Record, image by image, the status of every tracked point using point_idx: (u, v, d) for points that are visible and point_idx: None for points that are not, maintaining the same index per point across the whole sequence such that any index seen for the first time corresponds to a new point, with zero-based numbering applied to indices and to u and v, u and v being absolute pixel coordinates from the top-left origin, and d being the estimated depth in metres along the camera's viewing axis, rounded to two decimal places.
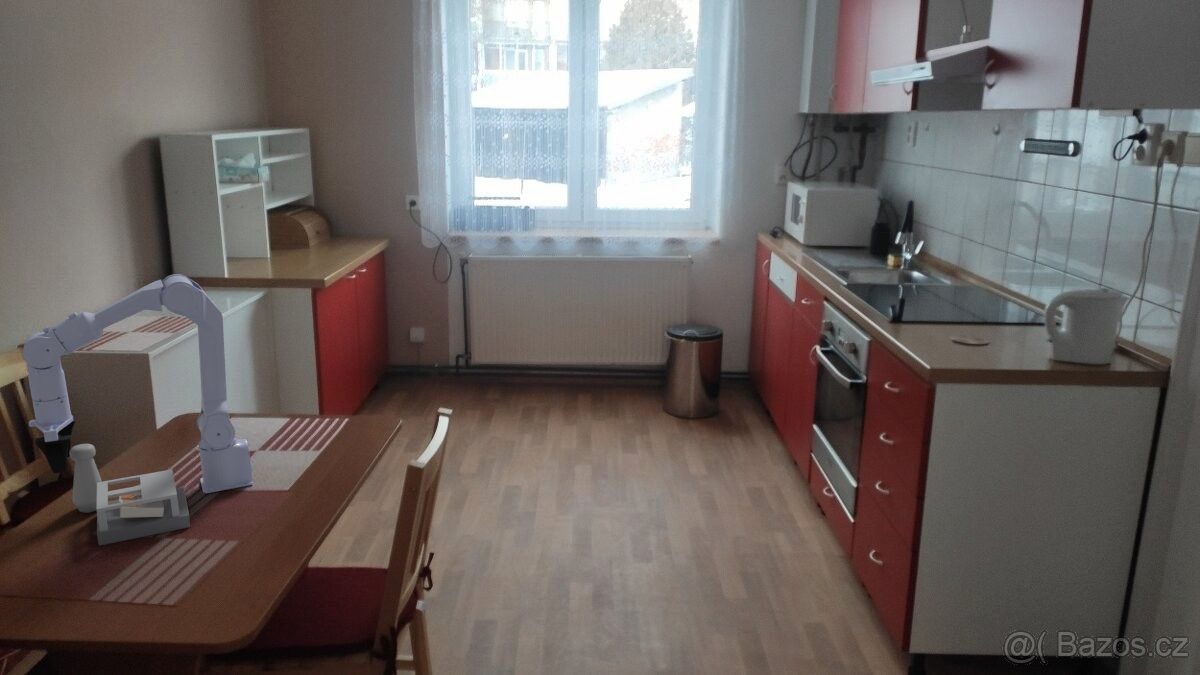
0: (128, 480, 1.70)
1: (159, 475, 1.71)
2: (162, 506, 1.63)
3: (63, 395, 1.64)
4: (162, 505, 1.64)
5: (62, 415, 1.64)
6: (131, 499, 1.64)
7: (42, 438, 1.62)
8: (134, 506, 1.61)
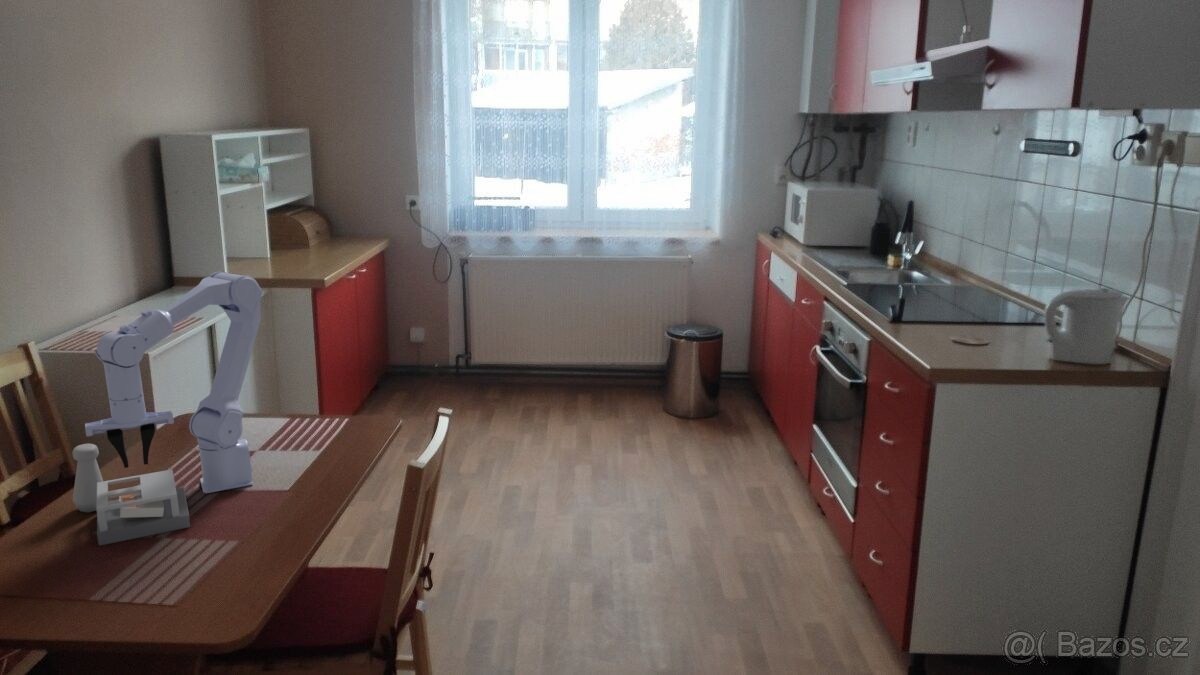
0: (128, 480, 1.70)
1: (159, 475, 1.71)
2: (162, 506, 1.63)
3: (142, 392, 1.65)
4: (162, 505, 1.64)
5: (114, 417, 1.62)
6: (131, 499, 1.64)
7: None
8: (134, 506, 1.61)
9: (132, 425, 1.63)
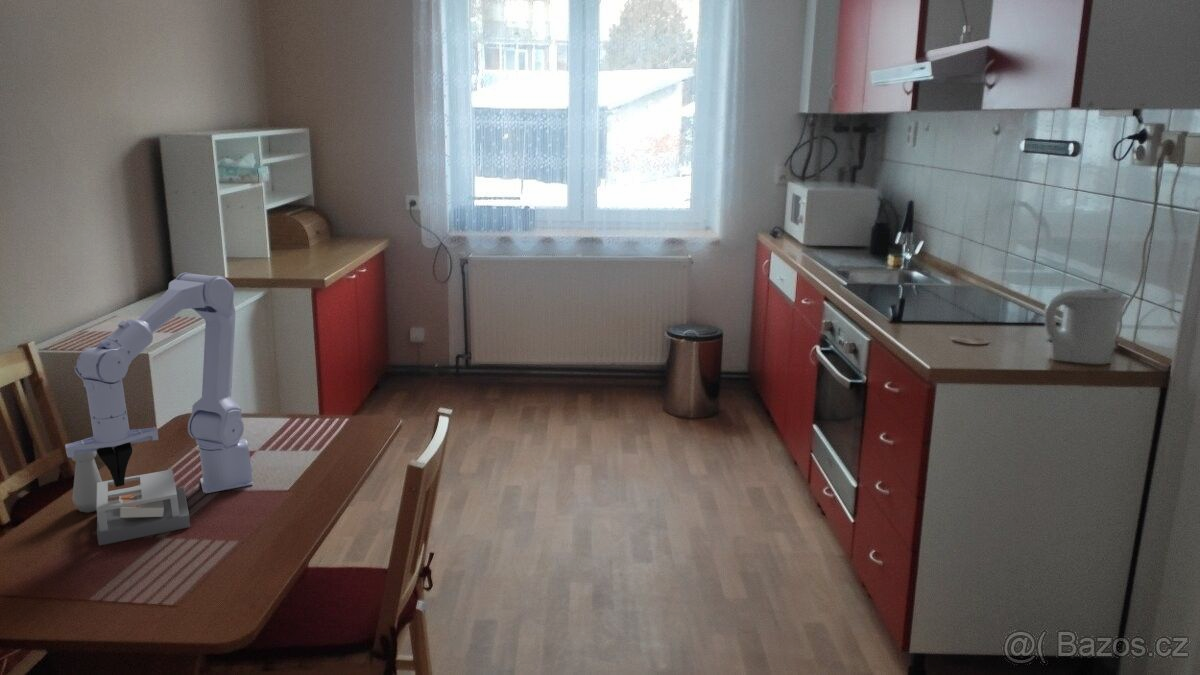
0: (128, 480, 1.70)
1: (159, 475, 1.71)
2: (162, 506, 1.63)
3: None
4: (162, 505, 1.64)
5: (98, 436, 1.55)
6: (131, 499, 1.64)
7: None
8: (134, 506, 1.61)
9: (117, 443, 1.56)
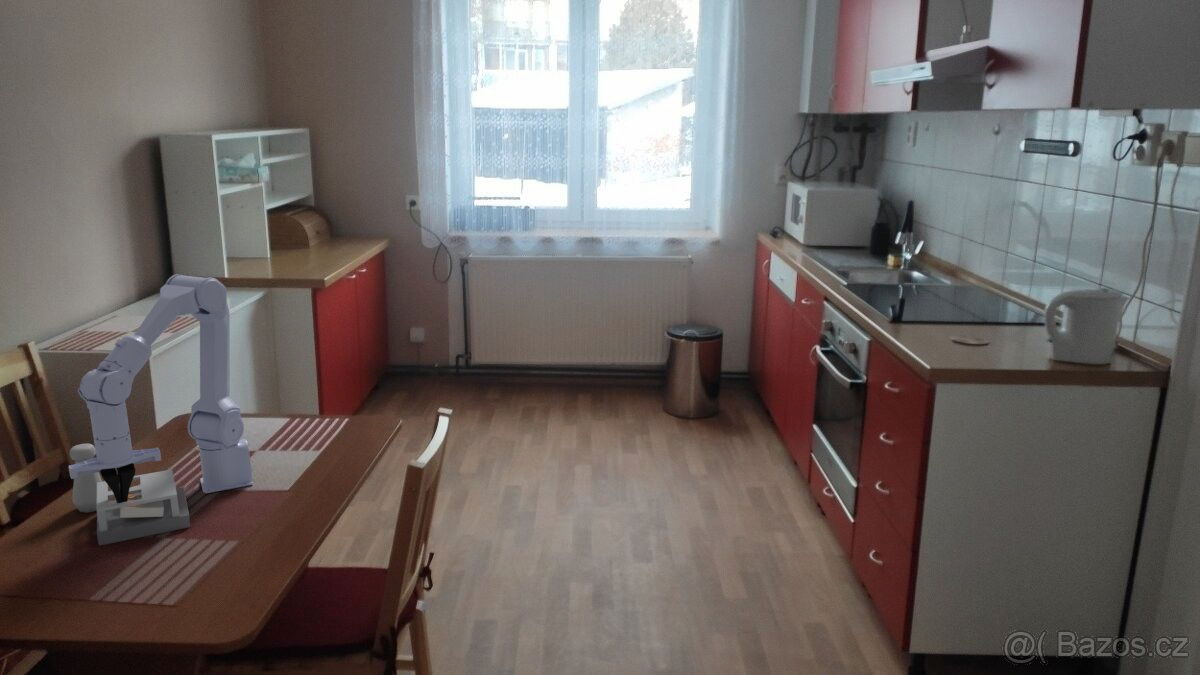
0: None
1: (159, 475, 1.71)
2: (162, 506, 1.63)
3: None
4: (162, 505, 1.64)
5: (101, 458, 1.56)
6: (131, 499, 1.64)
7: None
8: (134, 506, 1.61)
9: (120, 464, 1.57)
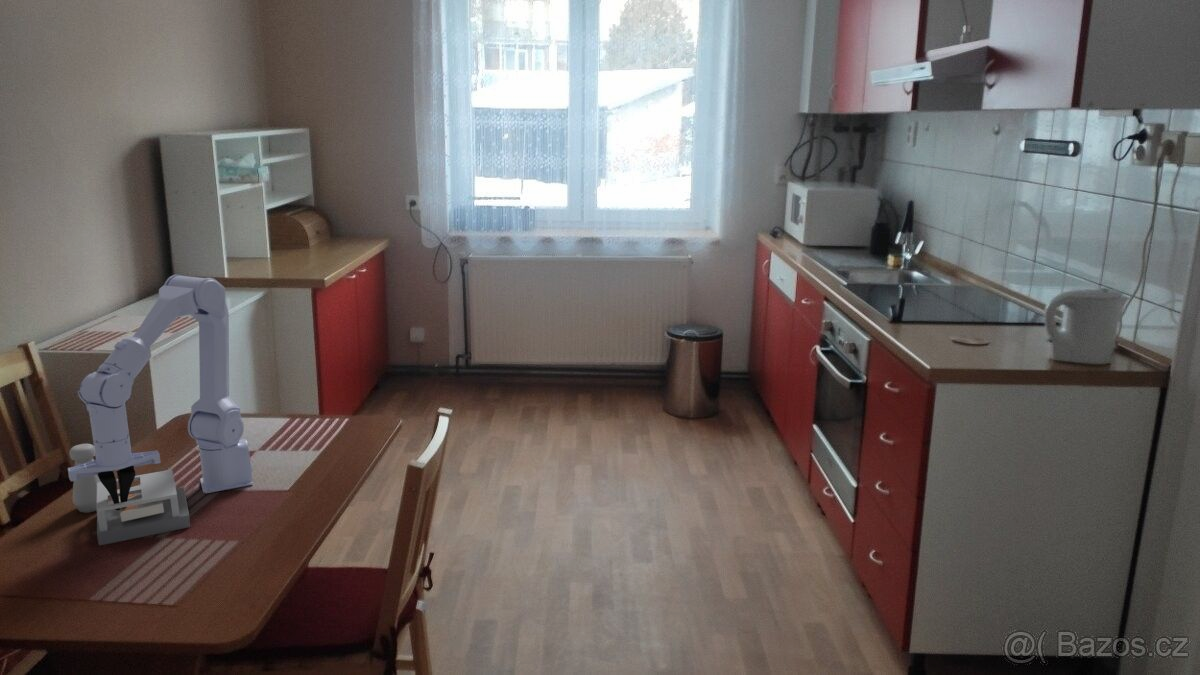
0: None
1: (159, 475, 1.71)
2: (161, 502, 1.63)
3: (128, 433, 1.60)
4: (161, 501, 1.63)
5: (100, 460, 1.57)
6: None
7: None
8: (133, 508, 1.61)
9: (120, 467, 1.57)
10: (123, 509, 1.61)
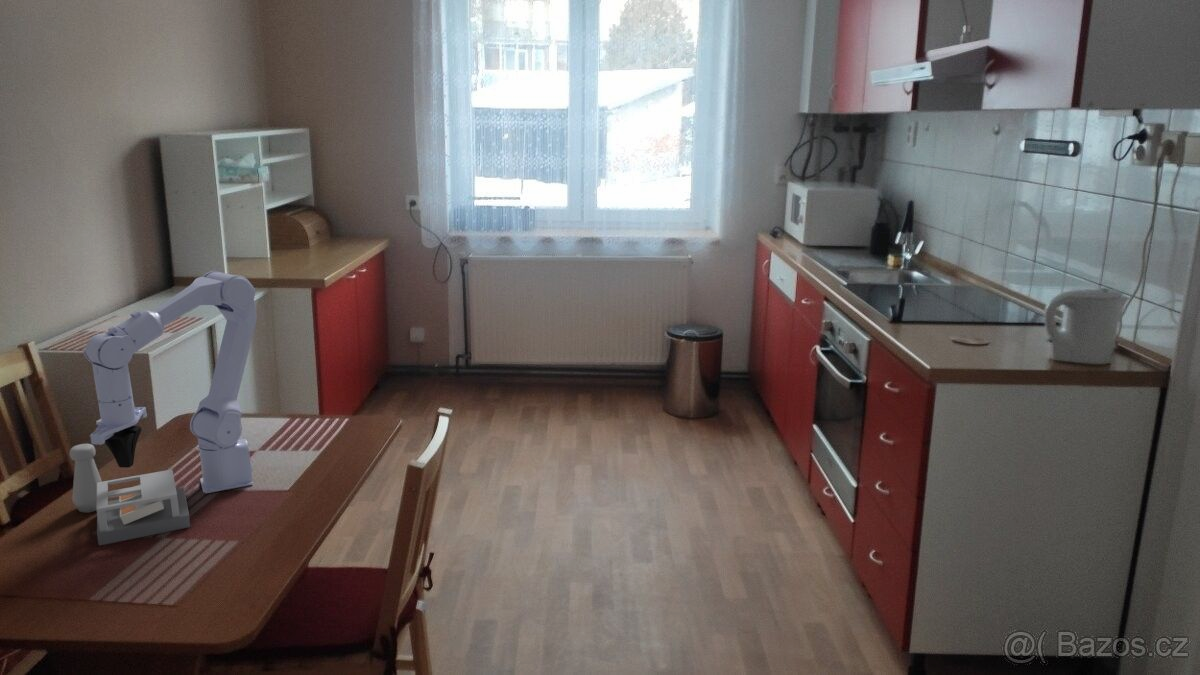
0: (128, 480, 1.70)
1: (159, 475, 1.71)
2: None
3: (131, 394, 1.64)
4: None
5: (119, 419, 1.62)
6: None
7: None
8: (132, 510, 1.61)
9: (136, 422, 1.65)
10: (123, 512, 1.61)
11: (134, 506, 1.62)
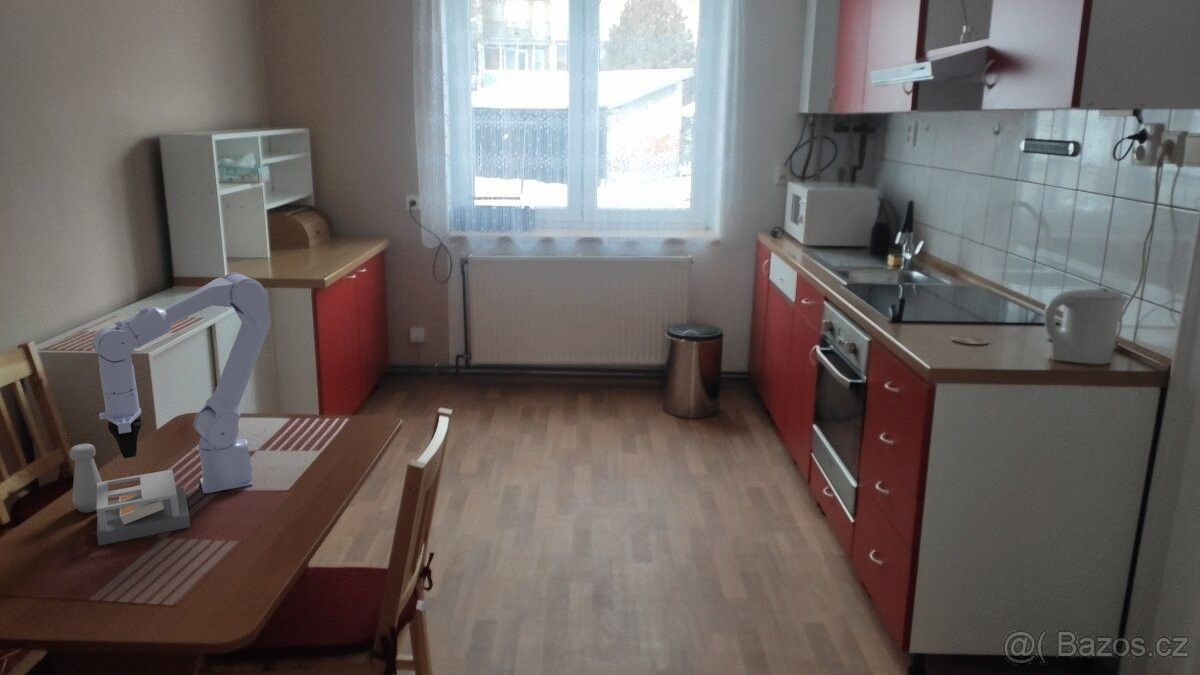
0: (128, 480, 1.70)
1: (159, 475, 1.71)
2: None
3: (134, 387, 1.67)
4: None
5: (132, 408, 1.67)
6: None
7: (114, 424, 1.68)
8: (132, 509, 1.61)
9: (140, 410, 1.70)
10: (123, 512, 1.61)
11: (134, 506, 1.62)
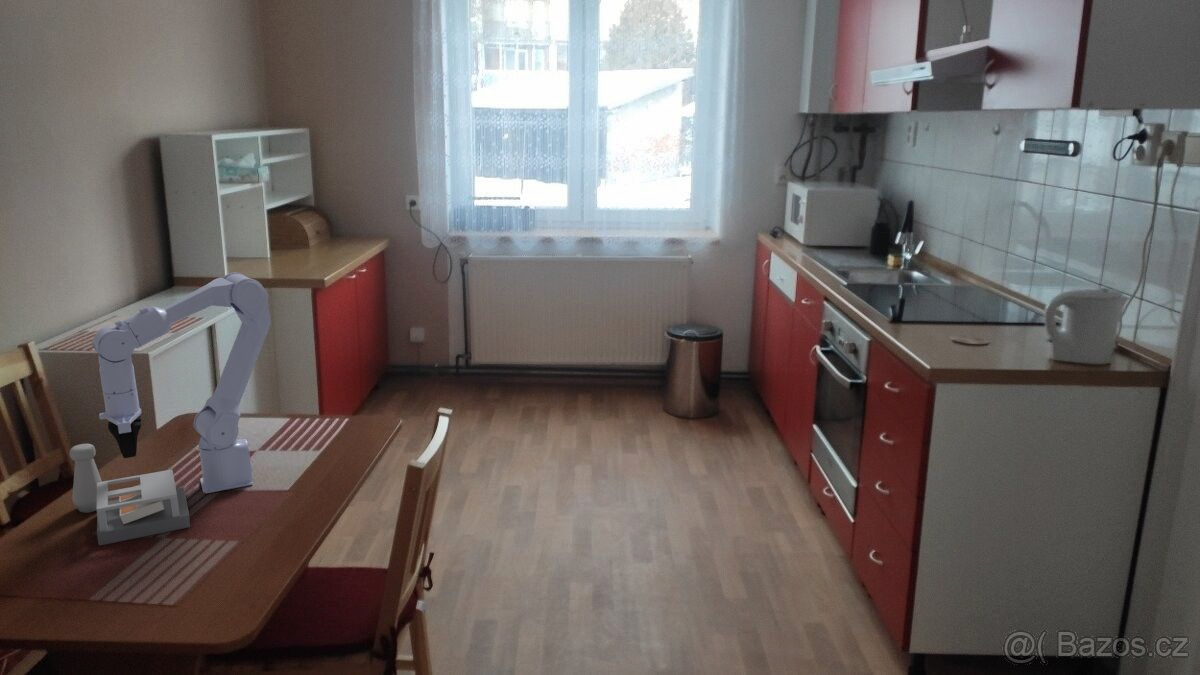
0: (128, 480, 1.70)
1: (159, 475, 1.71)
2: None
3: (134, 387, 1.67)
4: None
5: (132, 408, 1.67)
6: None
7: (114, 424, 1.68)
8: (132, 509, 1.61)
9: (140, 410, 1.70)
10: (123, 512, 1.61)
11: (134, 506, 1.62)
